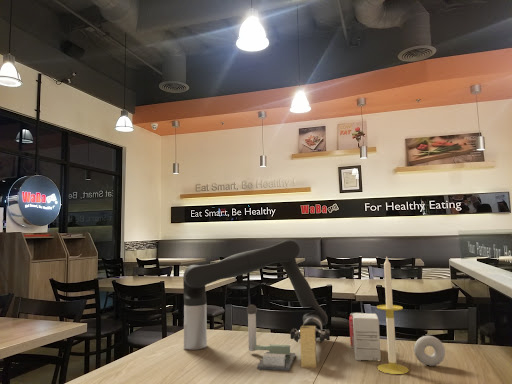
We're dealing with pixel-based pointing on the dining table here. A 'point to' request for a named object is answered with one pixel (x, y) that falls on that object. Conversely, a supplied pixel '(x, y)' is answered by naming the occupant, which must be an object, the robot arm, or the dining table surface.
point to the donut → (429, 359)
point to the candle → (390, 326)
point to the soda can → (351, 330)
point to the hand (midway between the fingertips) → (308, 339)
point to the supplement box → (366, 336)
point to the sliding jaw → (252, 335)
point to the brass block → (308, 346)
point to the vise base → (288, 364)
